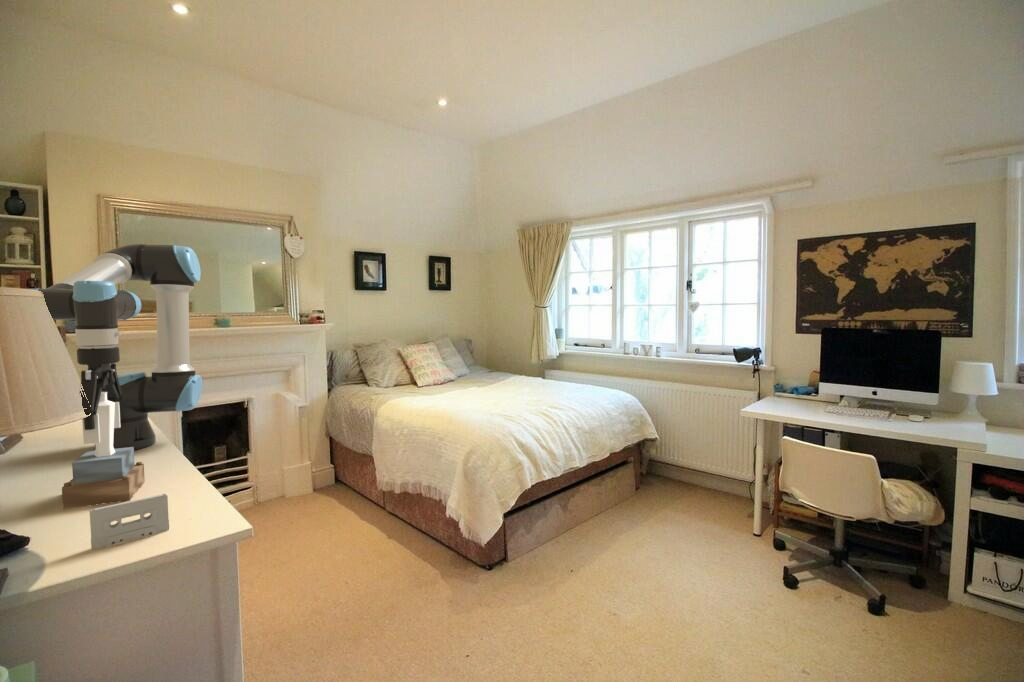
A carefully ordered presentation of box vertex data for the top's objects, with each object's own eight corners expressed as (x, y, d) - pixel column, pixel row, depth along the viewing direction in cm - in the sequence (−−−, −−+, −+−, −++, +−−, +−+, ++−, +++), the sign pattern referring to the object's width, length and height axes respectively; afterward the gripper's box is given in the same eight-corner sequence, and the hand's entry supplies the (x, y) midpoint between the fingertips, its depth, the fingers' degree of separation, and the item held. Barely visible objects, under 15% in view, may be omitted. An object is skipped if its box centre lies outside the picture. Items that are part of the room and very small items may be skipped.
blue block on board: (84, 489, 116) (82, 450, 115) (144, 482, 121) (142, 444, 120) (63, 509, 105) (60, 465, 105) (129, 500, 110) (127, 458, 110)
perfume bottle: (97, 452, 114) (93, 391, 112) (119, 450, 115) (116, 390, 114) (87, 458, 110) (83, 395, 108) (110, 456, 111) (107, 394, 110)
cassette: (168, 528, 98) (166, 492, 97) (169, 531, 96) (168, 495, 96) (91, 547, 90) (89, 508, 89) (91, 551, 88) (89, 512, 88)
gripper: (98, 351, 101) (103, 448, 102) (134, 341, 123) (138, 421, 125) (52, 352, 98) (58, 452, 99) (98, 342, 120) (102, 423, 122)
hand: (103, 435), depth 112 cm, fingers open, 13 cm apart
